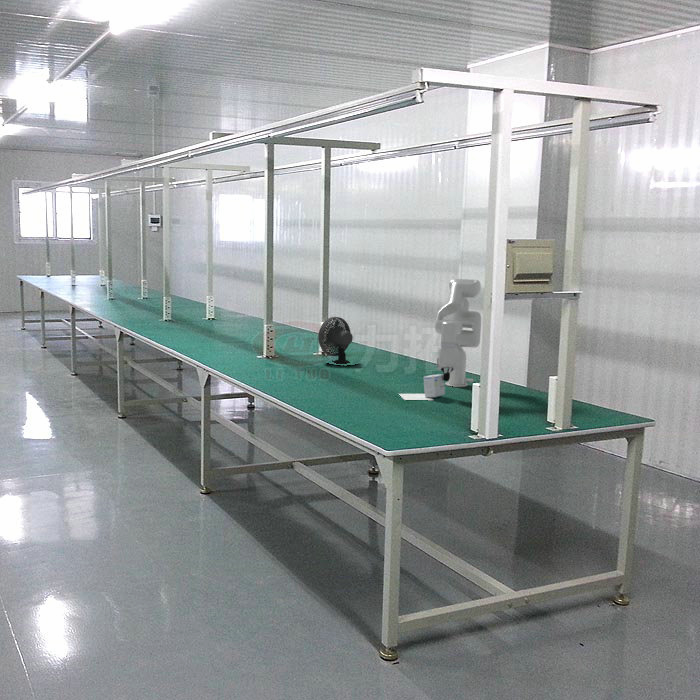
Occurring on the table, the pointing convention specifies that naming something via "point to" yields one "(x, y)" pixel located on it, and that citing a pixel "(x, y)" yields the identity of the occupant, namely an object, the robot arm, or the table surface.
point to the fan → (335, 338)
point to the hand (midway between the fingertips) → (446, 380)
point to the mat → (415, 397)
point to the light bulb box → (434, 385)
